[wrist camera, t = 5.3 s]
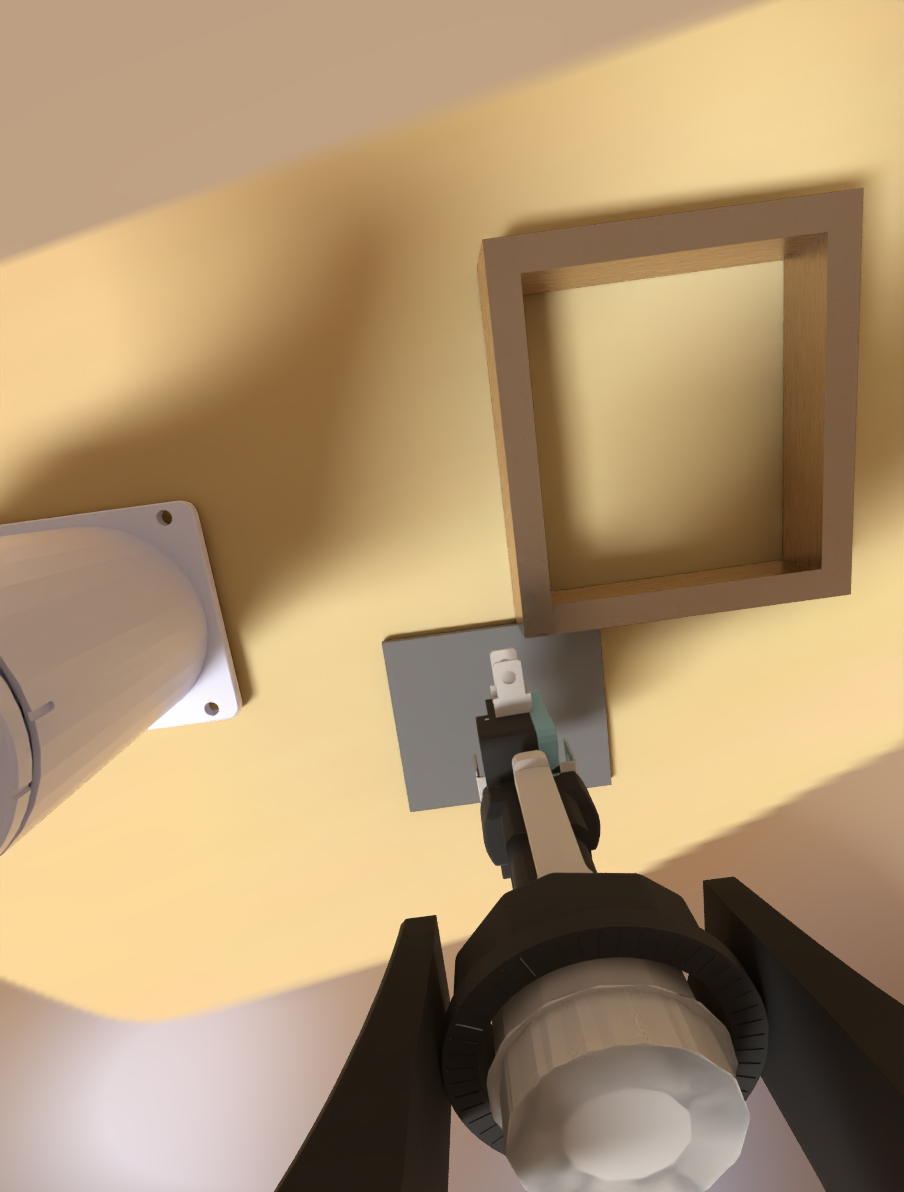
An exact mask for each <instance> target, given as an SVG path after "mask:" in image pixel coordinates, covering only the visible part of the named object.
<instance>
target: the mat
mask: <svg viewBox="0 0 904 1192" xmlns="http://www.w3.org/2000/svg"><path fill="white" fill-rule="evenodd" d="M382 647H383V653H384V659H385V665H386V671H387V677H388V683H389V689H390V695H391V700H392V706H393V712H394V718H395V724H396V730H397V736H398V742H399V748H400V754H401V760H402V766H403V772H404V778H405V783H406V789H407V795H408V801H409V807H410V812H415V811H422V810H430V809H437V808H444V807H452V806H459V805H466V804H474V803H481V801H480V795H479V790H478V784H477V779H476V771H475V764H474V756H473V754H476V758H477V763H478V769H479V774H480V776H485V773H484V767H483V762H482V756H481V750H480V745H479V739H478V732H477V725H476V719H475V718H476V717H478V716H484V715H487V709H486V703H485V700H487V699H492V696H491V690H490V685H494V678H493V671H492V665H491V659H490V653H491V651H493V650H499V649H505V648H511V647H513V648H514V649H516V654H517V659H518V660H520V661H521V667H522V674H523V679H525V680H526V687H527V693H528V692H533V691H538V692H539V694H540V696H541V698H542V701H543V703H544V705H545V708H546V710H547V712H548V714H549V717H551V718H552V721H553V723H554V726H555V729H556V733H557V739H558V746H559V751H558V755H559V763H563V762H566V758H565V750H564V743H563V740H564V739H565V738H566V739H567V741H568V743H569V746H570V748H571V750H572V752H573V754H574V758H575V759H576V762H577V770H578V775H579V777H580V778H581V779H582V781H583V782H584V784H585V786H586V788H591V787H598V786H605V785H612V784H611V771H610V758H609V745H608V731H607V718H606V705H605V691H604V678H603V665H602V651H601V638H600V629H593V630H585V631H578V632H571V633H563V634H556V635H549V636H541V637H534V638H527V639H525V638H524V636H523V634H522V632H521V631H520V629H519V627H518V625H517V623H512V624H505V625H498V626H490V627H483V628H476V629H468V630H461V631H454V632H446V633H439V634H432V635H424V636H417V637H410V638H402V639H395V640H388V641H383V642H382ZM505 660H508V659H502V660H501V661H505Z"/></svg>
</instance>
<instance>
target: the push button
mask: <svg viewBox="0 0 904 1192" xmlns="http://www.w3.org/2000/svg"><path fill="white" fill-rule="evenodd" d="M490 659H491V665H492V671H493V678H494V685H490V690H491V696H492V699H487V700H485V703H486V709H487V715H484V716H478V717H476V718H475V719H476V725H477V732H478V739H479V745H480V750H481V756H482V762H483V767H484V773H485V776H480V774H479V769H478V763H477V758H476V754H473V756H474V764H475V771H476V779H477V784H478V790H479V795H480V801H481V809H480V811H481V821H482V829H483V837H484V843H485V847H486V850H487V853H488V855H489V857H490V858H491V860H492V862H493V863H494V864H495V865H496V866H500V865H501V869H502V875H503V879H507V878H511V881H512V887H513V890H511V891H509V892H507V893H505V894H504V895H503V896H502V897H501V898H500V900H499V901H498V902H497V903H496V905H495V906H494V907H493V909H492V910H491V911H490V912H489V914H488V915H487V916H486V918H485V919H484V920H483V921H482V923H481V924H480V925H479V927H478V928H477V929H476V930H475V932H474V933H473V934H472V935H471V937H470V938H469V939H468V941H467V942H466V943H465V944H464V946H463V947H462V948H461V950H460V951H459V952H458V954H457V956H456V960H455V977H454V995H453V997H452V999H451V1001H450V1004H449V1006H448V1009H447V1012H446V1015H445V1019H444V1023H443V1028H442V1039H441V1050H442V1076H443V1081H444V1086H445V1090H446V1093H447V1096H448V1098H449V1101H450V1103H451V1105H452V1106H453V1108H454V1110H455V1112H456V1114H457V1115H458V1116H459V1118H460V1119H461V1121H462V1122H463V1123H464V1124H465V1125H466V1126H467V1128H468V1129H469V1130H470V1131H471V1132H472V1133H473V1134H475V1135H476V1136H477V1137H478V1138H479V1139H480V1140H481V1141H483V1142H484V1143H486V1144H487V1145H489V1146H490V1147H491V1148H493V1149H495V1150H497V1151H498V1152H500V1153H502V1154H504V1155H505V1156H506V1157H507V1159H508V1161H509V1162H510V1164H511V1166H512V1168H513V1169H514V1171H515V1173H516V1175H517V1176H518V1178H519V1180H520V1182H521V1184H522V1185H523V1187H524V1189H526V1190H528V1192H703V1191H705V1190H707V1189H708V1188H709V1187H710V1186H711V1185H712V1184H713V1183H714V1182H715V1181H716V1180H717V1179H718V1178H719V1177H720V1176H721V1175H722V1174H723V1173H724V1172H725V1171H726V1170H727V1169H728V1168H729V1167H730V1166H731V1165H732V1164H734V1163H735V1162H736V1160H737V1158H738V1157H739V1156H740V1153H741V1150H742V1146H743V1142H744V1139H745V1135H746V1131H747V1128H748V1124H749V1120H750V1114H749V1111H748V1109H747V1106H746V1103H745V1101H746V1100H747V1098H748V1096H749V1095H750V1093H751V1092H752V1090H753V1089H754V1087H755V1085H756V1083H757V1081H758V1080H759V1077H760V1076H761V1073H762V1070H763V1067H764V1065H765V1061H766V1057H767V1053H768V1028H769V1024H768V1019H767V1014H766V1010H765V1007H764V1004H763V1002H762V999H761V997H760V995H759V993H758V991H757V989H756V987H755V986H754V984H753V982H752V981H751V979H750V977H749V976H748V974H747V972H746V971H745V969H744V967H743V966H742V965H741V963H740V962H739V961H738V959H737V958H736V956H735V955H734V954H733V953H732V952H731V951H730V950H729V949H728V948H727V947H726V946H725V945H724V944H723V943H721V942H720V941H719V940H718V939H717V938H715V937H714V936H712V935H711V934H709V933H708V932H706V931H705V930H703V929H701V928H699V926H698V925H697V922H696V921H695V919H694V917H693V915H692V913H691V912H690V910H689V908H688V906H687V905H686V903H685V901H684V900H683V898H682V897H681V896H679V895H678V894H676V893H674V892H672V891H671V890H669V889H667V888H665V887H663V886H661V885H660V884H657V883H656V882H654V881H652V880H650V879H648V878H647V877H645V876H643V875H640V874H636V873H597V871H596V869H595V866H594V863H593V861H592V854H591V850H595V849H596V848H597V846H598V842H599V838H600V820H599V816H598V813H597V810H596V808H595V806H594V803H593V801H592V799H591V797H590V795H589V792H588V790H587V788H586V786H585V784H584V782H583V781H582V779H581V778H580V777H579V775H578V770H577V762H576V759H575V758H574V754H573V752H572V750H571V748H570V746H569V743H568V741H567V739H566V738H565V739H564V740H563V743H564V750H565V758H566V762H563V763H559V755H558V751H559V746H558V739H557V733H556V729H555V726H554V723H553V721H552V718H551V717H549V714H548V712H547V710H546V708H545V705H544V703H543V701H542V698H541V696H540V694H539V692H538V691H533V692H528V693H527V687H526V680H525V679H523V674H522V667H521V661H520V660H518V659H517V654H516V649H514V648H513V647H511V648H505V649H499V650H493V651H491V653H490ZM502 659H508V660H505V661H501V660H502ZM682 971H684V972H686V973H688V974H689V976H688V980H687V981H686V979H685V977H684V974H683V972H682ZM491 1021H492V1024H491V1023H490V1022H491Z"/></svg>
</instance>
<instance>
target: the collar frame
mask: <svg viewBox="0 0 904 1192" xmlns="http://www.w3.org/2000/svg"><path fill="white" fill-rule="evenodd" d="M862 216H863V188H860V189H853V190H845V191H838V192H830V193H823V194H816V195H808V196H801V197H793V198H786V199H779V200H771V201H764V202H757V203H749V204H742V205H734V206H727V207H720V208H712V209H705V210H697V211H690V212H683V213H675V214H668V215H660V216H653V217H646V218H638V219H631V220H624V221H616V222H609V223H601V224H594V225H587V226H579V227H572V228H564V229H557V230H550V231H542V232H535V233H528V234H520V235H513V236H505V237H498V238H491V239H483V240H482V244H481V249H480V254H479V259H478V264H477V272H478V281H479V290H480V299H481V308H482V317H483V326H484V335H485V344H486V354H487V363H488V372H489V381H490V390H491V399H492V408H493V417H494V426H495V435H496V444H497V453H498V462H499V471H500V480H501V490H502V499H503V508H504V517H505V526H506V535H507V544H508V553H509V562H510V571H511V580H512V589H513V598H514V607H515V616H516V623H517V625H518V627H519V629H520V631H521V632H522V634H523V636H524V638H525V639H527V638H534V637H541V636H549V635H556V634H563V633H571V632H578V631H585V630H593V629H600V628H607V627H615V626H622V625H629V624H637V623H644V622H651V621H659V620H666V619H673V618H681V617H688V616H695V615H703V614H710V613H717V612H725V611H732V610H739V609H747V608H754V607H761V606H769V605H776V604H783V603H791V602H798V601H805V600H813V599H820V598H827V597H835V596H842V595H849V594H851V569H852V537H853V505H854V473H855V441H856V408H857V376H858V344H859V312H860V280H861V248H862ZM777 260H784V398H783V560H781V561H773V562H766V563H759V564H751V565H744V566H737V567H729V568H722V569H715V570H707V571H700V572H693V573H685V574H678V575H671V576H663V577H656V578H649V579H641V580H634V581H627V582H619V583H612V584H605V585H597V586H590V587H583V588H575V589H568V590H561V591H553V592H551V590H550V579H549V569H548V558H547V548H546V537H545V527H544V516H543V505H542V495H541V484H540V474H539V463H538V452H537V442H536V431H535V421H534V410H533V399H532V389H531V378H530V368H529V357H528V347H527V336H526V325H525V315H524V304H523V295H527V294H534V293H541V292H549V291H556V290H563V289H571V288H578V287H586V286H593V285H600V284H608V283H615V282H622V281H630V280H637V279H645V278H652V277H659V276H667V275H674V274H681V273H689V272H696V271H704V270H711V269H718V268H726V267H733V266H740V265H748V264H755V263H763V262H770V261H777Z"/></svg>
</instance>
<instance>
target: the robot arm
mask: <svg viewBox="0 0 904 1192" xmlns="http://www.w3.org/2000/svg"><path fill="white" fill-rule="evenodd" d="M165 510H167V511H168V512H169V513H170V514H171V516H172V522H171V523H170V524H167V523H165V522H164V521H163V519H162V514H163V512H164V511H165ZM209 702H213V703H215V704H217V705H218V707H219V711H214V710H212V709H211V708H210V707H209ZM241 708H242V699H241V694H240V690H239V686H238V682H237V677H236V673H235V669H234V665H233V660H232V656H231V652H230V648H229V643H228V639H227V635H226V630H225V626H224V622H223V618H222V613H221V609H220V605H219V601H218V596H217V592H216V588H215V584H214V579H213V575H212V571H211V566H210V562H209V558H208V554H207V549H206V545H205V541H204V537H203V532H202V528H201V524H200V519H199V515H198V512H197V510H196V508H195V507H194V506H193V505H192V504H191V503H189V502H187V501H171V502H164V503H156V504H149V505H142V506H134V507H127V508H120V509H112V510H105V511H98V512H90V513H83V514H75V515H68V516H61V517H53V518H46V519H39V520H31V521H24V522H17V523H9V524H2V525H0V856H1V855H2V854H3V853H5V852H6V851H7V850H8V849H9V848H10V847H12V846H13V845H14V844H15V843H16V842H17V841H19V840H20V839H21V838H22V837H23V836H24V835H25V834H27V833H28V832H29V831H30V830H31V829H32V828H34V827H35V826H36V825H37V824H38V823H39V822H40V821H42V820H43V819H44V818H45V817H46V816H47V815H49V814H50V813H51V812H52V811H53V810H54V809H56V808H57V807H58V806H59V805H60V804H61V803H62V802H64V801H65V800H66V799H67V798H68V797H69V796H71V795H72V794H73V793H74V792H75V791H76V790H77V789H79V788H80V787H81V786H82V785H83V784H84V783H86V782H87V781H88V780H89V779H90V778H91V777H93V776H94V775H95V774H96V773H97V772H98V771H99V770H101V769H102V768H103V767H104V766H105V765H106V764H108V763H109V762H110V761H111V760H112V759H113V758H114V757H116V756H117V755H118V754H119V753H120V752H121V751H123V750H124V749H125V748H126V747H127V746H128V745H129V744H131V743H132V742H133V741H134V740H135V739H136V738H138V737H139V736H140V735H141V734H142V733H143V732H145V731H146V730H152V729H160V728H167V727H174V726H182V725H189V724H196V723H204V722H211V721H218V720H225V719H230V718H233V717H235V716H236V715H237V714H238V713H239V712H240V710H241ZM703 891H704V917H705V931H706V932H708V933H709V934H711V935H712V936H714V937H715V938H717V939H718V940H719V941H720V942H721V943H723V944H724V945H725V946H726V947H727V948H728V949H729V950H730V951H731V952H732V953H733V954H734V955H735V956H736V958H737V959H738V961H739V962H740V963H741V965H742V966H743V967H744V969H745V971H746V972H747V974H748V976H749V977H750V979H751V981H752V982H753V984H754V986H755V987H756V989H757V991H758V993H759V995H760V997H761V999H762V1002H763V1004H764V1007H765V1010H766V1014H767V1019H768V1024H769V1028H768V1053H767V1057H766V1061H765V1065H764V1067H763V1070H762V1073H761V1077H762V1079H763V1081H764V1083H765V1084H766V1086H767V1088H768V1090H769V1091H770V1093H771V1095H772V1097H773V1099H774V1100H775V1102H776V1104H777V1105H778V1107H779V1109H780V1111H781V1112H782V1114H783V1116H784V1118H785V1119H786V1121H787V1123H788V1125H789V1127H790V1128H791V1130H792V1132H793V1134H794V1135H795V1137H796V1139H797V1141H798V1142H799V1144H800V1146H801V1148H802V1150H803V1151H804V1153H805V1155H806V1157H807V1158H808V1160H809V1162H810V1163H811V1165H812V1167H813V1169H814V1171H815V1172H816V1174H817V1176H818V1178H819V1180H820V1181H821V1183H822V1185H823V1187H824V1189H825V1191H826V1192H904V1005H902V1004H901V1003H899V1002H898V1001H897V1000H895V999H894V998H892V997H891V996H889V995H888V994H887V993H885V992H884V991H882V990H881V989H879V988H878V987H876V986H875V985H874V984H872V983H871V982H870V981H868V980H867V979H866V978H864V977H863V976H861V975H860V974H858V973H857V972H856V971H854V970H853V969H852V968H850V967H849V966H848V965H846V964H845V963H844V962H842V961H841V960H840V959H839V958H837V957H836V956H834V955H833V954H832V953H831V952H829V951H828V950H826V949H825V948H824V947H823V946H821V945H820V944H818V943H817V942H816V941H815V940H813V939H812V938H811V937H810V936H808V935H807V934H805V933H804V932H803V931H802V930H801V929H799V928H798V927H797V926H796V925H794V924H793V923H792V922H790V921H789V920H788V919H787V918H785V917H784V916H783V915H781V914H780V913H779V912H778V911H777V910H775V909H774V908H773V907H772V906H770V905H769V904H768V903H766V902H765V901H764V900H763V899H762V898H760V897H759V896H758V895H757V894H755V893H754V892H753V891H751V890H750V889H749V888H748V887H746V886H745V885H744V884H743V883H741V882H740V881H739V880H738V879H736V878H735V877H727V878H719V879H711V880H705V881H703ZM449 1004H450V997H449V990H448V984H447V978H446V972H445V966H444V960H443V954H442V948H441V942H440V936H439V929H438V923H437V917H436V915H433V916H425V917H417V918H409V919H405V921H404V922H403V923H402V924H401V927H400V930H399V934H398V937H397V940H396V943H395V946H394V949H393V952H392V955H391V958H390V961H389V963H388V966H387V969H386V971H385V974H384V977H383V979H382V982H381V984H380V987H379V990H378V992H377V994H376V997H375V999H374V1001H373V1003H372V1006H371V1008H370V1011H369V1013H368V1016H367V1018H366V1020H365V1022H364V1025H363V1027H362V1029H361V1031H360V1034H359V1036H358V1038H357V1040H356V1042H355V1044H354V1046H353V1048H352V1050H351V1052H350V1055H349V1057H348V1059H347V1061H346V1063H345V1065H344V1067H343V1069H342V1071H341V1073H340V1075H339V1077H338V1079H337V1081H336V1083H335V1085H334V1087H333V1089H332V1091H331V1093H330V1095H329V1097H328V1099H327V1101H326V1103H325V1105H324V1106H323V1108H322V1110H321V1112H320V1114H319V1116H318V1117H317V1119H316V1121H315V1123H314V1125H313V1127H312V1128H311V1130H310V1132H309V1134H308V1135H307V1137H306V1139H305V1141H304V1143H303V1144H302V1146H301V1148H300V1149H299V1151H298V1153H297V1155H296V1156H295V1159H294V1160H293V1161H292V1163H291V1165H290V1166H289V1168H288V1170H287V1171H286V1173H285V1175H284V1176H283V1178H282V1179H281V1181H280V1183H279V1184H278V1186H277V1188H276V1189H275V1191H274V1192H448V1173H449V1148H450V1146H449V1145H450V1123H451V1103H450V1101H449V1098H448V1096H447V1093H446V1090H445V1086H444V1081H443V1076H442V1050H441V1039H442V1028H443V1023H444V1019H445V1015H446V1012H447V1009H448V1006H449Z"/></svg>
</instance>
